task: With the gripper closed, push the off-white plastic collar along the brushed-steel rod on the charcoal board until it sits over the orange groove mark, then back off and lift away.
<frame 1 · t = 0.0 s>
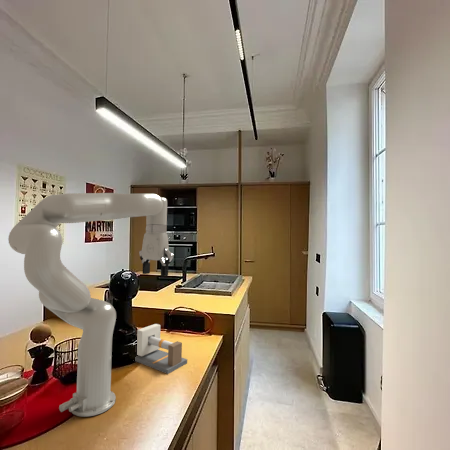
hand: (155, 274, 110), 37 cm above the worktop, tool pointing down, fingers open, 9 cm apart
rod rig: (162, 362, 117), on the worktop
collar: (148, 339, 122), point 7 cm above the worktop, slide at 8.0 cm
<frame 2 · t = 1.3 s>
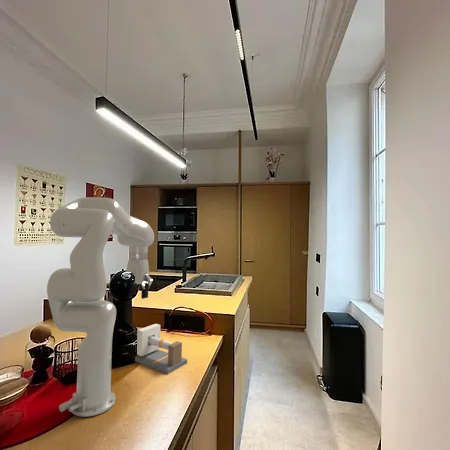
hand: (137, 296, 126), 24 cm above the worktop, tool pointing down, fingers open, 8 cm apart
nothing on the worktop moved.
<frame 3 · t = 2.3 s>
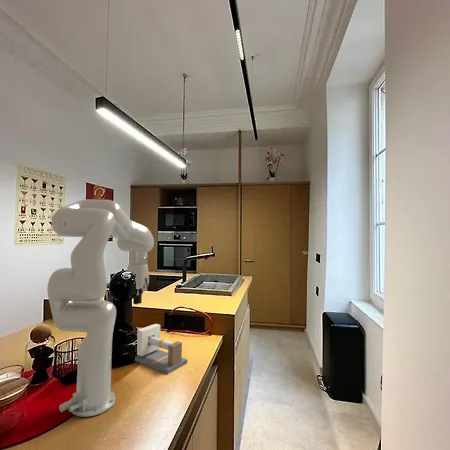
hand: (137, 303, 127), 21 cm above the worktop, tool pointing down, fingers closed
nothing on the worktop moved.
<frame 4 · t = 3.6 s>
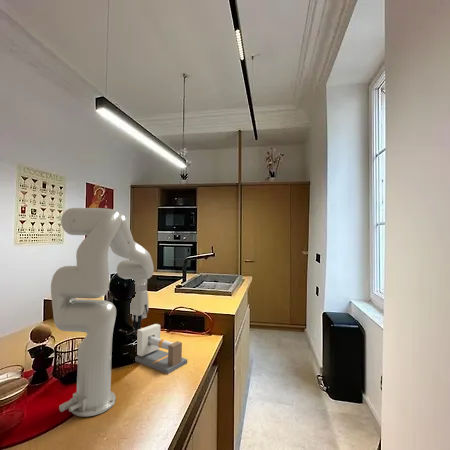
hand: (136, 329, 126), 10 cm above the worktop, tool pointing down, fingers closed
nothing on the worktop moved.
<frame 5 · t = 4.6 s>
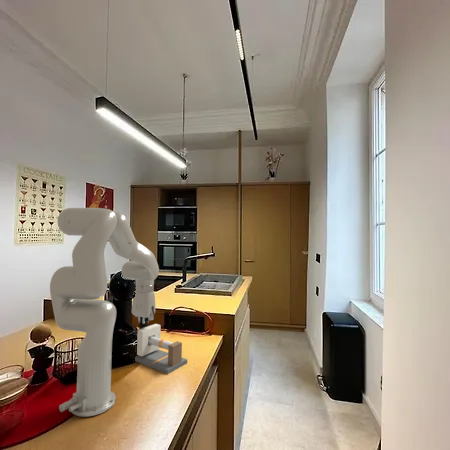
hand: (143, 331, 124), 10 cm above the worktop, tool pointing down, fingers closed
collar: (149, 339, 122), point 7 cm above the worktop, slide at 7.9 cm, touching gripper
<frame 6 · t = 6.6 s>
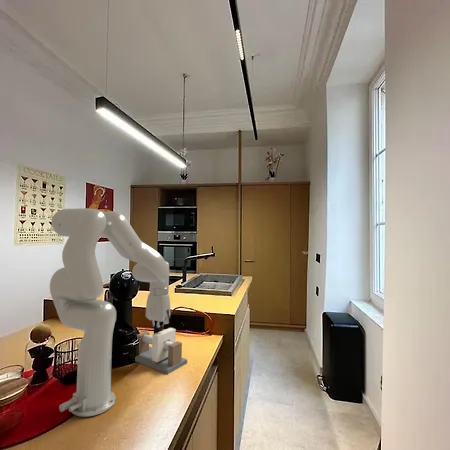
hand: (157, 336, 119), 10 cm above the worktop, tool pointing down, fingers closed
collar: (164, 344, 117), point 7 cm above the worktop, slide at -0.8 cm, touching gripper
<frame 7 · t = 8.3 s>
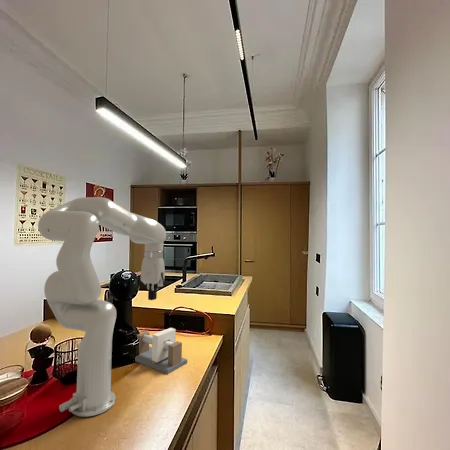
hand: (152, 299, 121), 24 cm above the worktop, tool pointing down, fingers closed
collar: (164, 344, 117), point 7 cm above the worktop, slide at -0.8 cm
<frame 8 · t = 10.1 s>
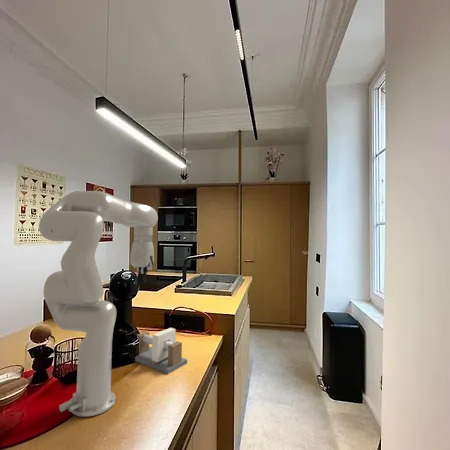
hand: (142, 282, 122), 31 cm above the worktop, tool pointing down, fingers closed
nothing on the worktop moved.
at the end: collar slide at -0.8 cm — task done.
